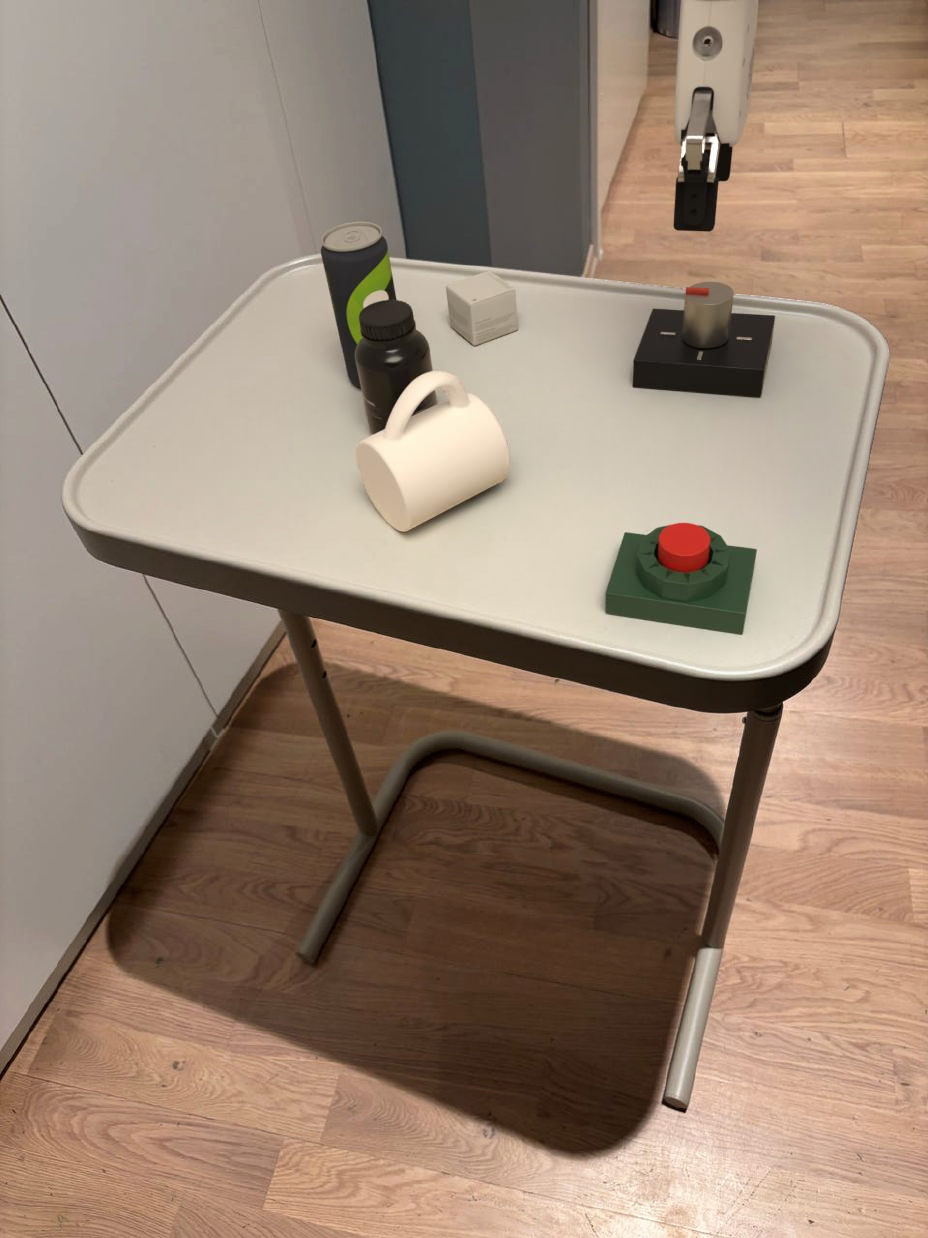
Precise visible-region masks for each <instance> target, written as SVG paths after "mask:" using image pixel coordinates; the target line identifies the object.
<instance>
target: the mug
mask: <svg viewBox="0 0 928 1238" xmlns="http://www.w3.org/2000/svg"><path fill="white" fill-rule="evenodd" d="M434 390H435V391H436V390H441V391H443V392H444V393H445V394H446V397H447V399H445V400H443V401H441V402H439V403H437V405H435V406H432V407H430V408H428V409H426V410H424V411H422V412H420V413H418V414H416V415H414V416H411V415H412V414H413V412H414V411H415V409H416V408H417V406H418V405H419V404H420V403H421V401H422V400H423V399H424V398H425V397H426V396H427V395H428V394H430V393H431V392H433V391H434ZM355 457H356V464H357V468H358V472H359V476H360V478H361V481H362V484H363V486H364V488H365V490H366V492H367V495H368V497H369V498H370V500H371V502H372V504H373V505H374V507H375V508H376V510H377V512H378V513H379V514H380V515H381V516H382V518H383V519H384V520H385V522H387V524H388V525H390V526H391V527H392V528H393V529H395V530H396V531H399V532H401V533H402V532H403V533H404V532H409V531H410V530H412V529H414V528H415V527H417V526H420V525H421V524H423V523H425V522H428V521H430V520H431V519H433V518H435V517H436V516H438V515H440V514H442V513H444V512H446V511H448V510H450V509H452V508H454V507H456V506H457V505H460V504H461V503H463V502H466V501H467V500H469V499H471V498H473V497H475V496H476V495H479V494H481V493H482V492H484V491H486V490H488V489H491V488H492V487H494V486H496V485H498V484H500V483H502V482H504V481H505V480H506V479H507V477H508V475H509V474H510V469H511V455H510V449H509V446H508V442H507V439H506V435H505V433H504V430H503V429H502V426H501V425H500V423H499V421H498V419H497V417H496V416H495V414H494V413H493V411H492V410H491V408H490V407H489V406H488V405H487V404H486V403H485V402H484V400H482V399H481V398H480V397H478V396H477V395H475V394H473V393H471V392H467V389H466V388H465V385H464V384H463V382H462V381H461V380H460V379H459V378H458V377H457V376H456V375H454V374H452V373H450V372H448V371H444V370H433V371H431V372H427V373H425V374H422V375H420V376H419V377H417V378H416V379H415V380H413V381H412V382H411V383H410V384H409V385H408V386H407V388H406V389H405V390H404V391H403V393H402V394H401V396H400V397H399V399H398V400H397V402H396V404H395V406H394V408H393V410H392V412H391V414H390V416H389V419H388V422H387V424H386V427H385V429H384V430H382V431H380V432H378V433H376V434H374V435H373V434H371V435H369V436H367V437H365V438H363V439H361V440H359V442H358V443H357V445H356V449H355Z"/></svg>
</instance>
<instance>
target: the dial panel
mask: <svg viewBox="0 0 928 1238" xmlns="http://www.w3.org/2000/svg"><path fill="white" fill-rule="evenodd" d="M650 312H651V313H650V315H649V318H648V320H647V323H646V326H645V328H644V331H643V333H642V336H641V338H640V341H639V343H638V347H637V348H636V349H637V350H636V352H635V354H634V357H633V361H632V363H633V364H632V388H638V389H649V390H650V389H651V390H660V391H661V390H662V391H673V392H674V391H675V392H688V393H696V394H697V393H698V394H699V393H700V394H711V395H725V396H735V397H746V398H747V397H748V398H761V397H762V394H763V393H762V392H763V389H764V385H765V384H764V383H765V378H766V373H767V369H768V363H769V358H770V353H771V349H772V345H773V344H772V343H773V337H774V329H775V323H776V322H775V321H776V315H774V314H756V313H740V312H739V313H738V312H732V315H731V325H730V334H729V339H728V341H727V342H726V343H725V344H723V345H721V346H718V347H715V348H696V347H693V346H690V345H688V344H686V343H685V342H684V340H683V338H682V332H683V317H684V309H671V308H670V309H669V308H655V307H654V308H652V309H651V311H650Z"/></svg>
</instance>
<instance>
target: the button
mask: <svg viewBox="0 0 928 1238" xmlns="http://www.w3.org/2000/svg"><path fill="white" fill-rule="evenodd" d="M669 525H670V526H668V527H666V528H665V529H664V530H663V531H662V532H661V533H660V536H659V547H658V559H659V561H660V563H661V564H662V565H663V566H664V567H665V568H667V569H669V570H671V571H677V572H685V573H688V572H692V571H697V570H700V569H702V568H703V567H704V566H705V565H706V564H707V562H708V557H709V548H710V536H709V534H708V533H707V531H706V530H705V529H703V528H702V527H700V526H698V525H699V524H695V523H691V522H676V523H673V524H669Z"/></svg>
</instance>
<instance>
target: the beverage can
mask: <svg viewBox="0 0 928 1238" xmlns="http://www.w3.org/2000/svg"><path fill="white" fill-rule="evenodd" d="M320 243H321V246H320V247H321V248H320V255H321V256H320V257H321V260H322V265H323V270H324V274H325V278H326V283H327V287H328V293H329V296H330V300H331V306H332V309H333V314H334V318H335V323H336V328H337V332H338V337H339V341H340V346H341V351H342V355H343V359H344V364H345V369H346V373H347V378H348V380H349V381H350V382H351V383H352V384H354V385H355V386H356V387H358V388H359V389H361V385H360V380H359V375H358V370H357V365H356V360H355V350H356V347H357V345H358V343H359V342H360V340H361V339H362V337H361V332H360V329H361V328H360V323H359V314H360V312H361V311H362V310H363V309H364V308H365V307H367V306H368V305H370V304H372V303H376V302H378V301H383V300H397V295H396V288H395V283H394V277H393V276H394V275H393V271H392V265H391V259H390V253H389V248H388V242H387V239H386V238H385V237H384V236H383V230H382V228H381V226H380V225H378V224H376V223H373V222H370V221H351V222H345V223H341V224H338V225H336V226H334V227H331V228H330V229H328V230H327V231H325V232H324V233H323V234H322V236H321V238H320Z"/></svg>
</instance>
